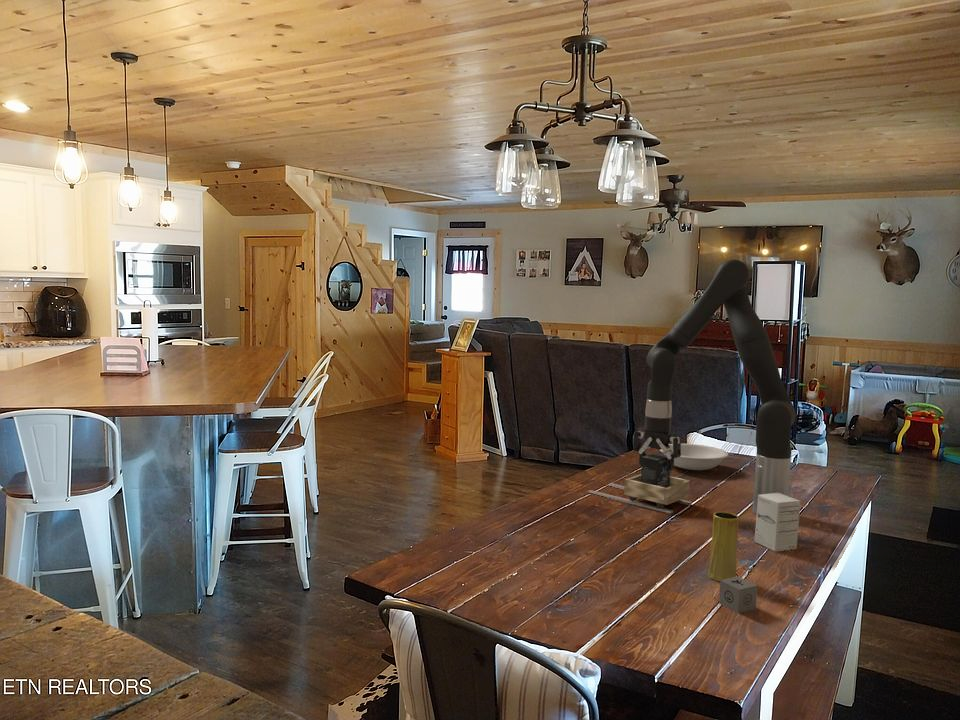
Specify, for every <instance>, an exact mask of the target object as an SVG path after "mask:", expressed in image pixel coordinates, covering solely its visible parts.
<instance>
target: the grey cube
mask: <svg viewBox="0 0 960 720" xmlns="http://www.w3.org/2000/svg"><path fill="white" fill-rule="evenodd" d="M757 594H758V585H757V584H755V583H754V582H751V581H750V580H747V579H744V578H743V577H740V576H737V575H736V577H733V578H728V579H724V580H720V582H719V595H718V604H719V605H721V606H723V607H725V608H727V609H729V610H730V611H732V612H734V613H736V614H741V613H742V614H743V613H746V612H748V611H753V610H756V609H757V597H758V596H757Z"/></svg>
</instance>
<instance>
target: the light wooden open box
mask: <svg viewBox="0 0 960 720" xmlns="http://www.w3.org/2000/svg"><path fill="white" fill-rule="evenodd" d="M690 485H691V481H690V480H689V479H685V478H679V477H675V476H671V475H670V487H667V488H665V487H660V486H656V485H651V484H647V483H642V482H641V473H639V474H638V475H634V476H631V477H629V478H625V479H624V485H623V486H624V490H623V495H625V496H627V497H628V498H629V500H631V501H636V500H637V499H641V500H644V501H645V500H646V501H650V502H653V503H656V506H658V507H659V508H665V506H666V505H667V506H668V505H670V504H672V503H676V502H675V501H677V500H680V499H681V500H683V499H684V498H686V497H688V496H690V488H691V487H690Z"/></svg>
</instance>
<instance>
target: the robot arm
mask: <svg viewBox="0 0 960 720" xmlns="http://www.w3.org/2000/svg"><path fill="white" fill-rule="evenodd" d="M749 278H750V271H749V268H748V266H747V264H746V263H744V262H743V261H742V260H739V259H729V260H726V261H724V262H723V263H721V264H720V265H719V266H718V267H717V268H716V269H715V271H714V274H713V278H712V279H711V282H710V284H709V285H708V286H707V288H705V290H704V291H703V293H702V294H701V296H699V297H698V299H697V300H696V301H695V302H694V303H693V304H692V305H691V306H690V307H689V308H688V309H687V310H686V312H684V313H683V314H682V316H681V317H680V318H679V319H678V320H677V322H675V324H674V325H673V326H672V328H670V330H669V331H668V332H667V333H666V334H665V335H664V336H663V337H662V338H660V340H658V342H656V343H655V344H654V345H653V346H652V348H651V349H650V350H649V351H648V353H647V356H646V364H647V366H648V367H649V368H650V369H651V372H650V373H651V374H650V376H651V377H650V380H649V382H647V387H646V388H647V390H646V391H647V394H646V403H645V404H646V405H645V411H644V413H645V417H644V420H645V421H644V432H643V431H642V430H638V431H635V432H634V438H633V451H634V452H638V454H639V457H638V458H639V460H638V463H639V465H640V467H642V458H643V456H647V451H648V450H649V449H656V450H659V451H660V450H661V449H662V451H663V452H664V453H665V454H666V456H667V458H668V459H667V471H669V472H670V471H671V472H672V470H674V468H675V465H674V459H675V458H677V457H680V456H681V444H682V441H681V437H680V436H677V437H675V436H672V435H671V430H672V414H673V413H672V412H673V411H672V410H673V407H672V394H673V393H672V391H673V390H672V389H673V388H672V387H673V381H674V376H675V373H676V367H677V365H676V363H677V362H676V356H677V355H678V354H679V353H680V352H681V351H683V350H685V349H687V348H688V347H689V346H690V345H691V343H693V341H695V339H696V338H697V337H698V335H699V334H700V333H701V332H702V331H703V329H704V328H705V327H706V325H707V324H708V323H709V321H710V320H711V319H712V318H713V316H714V315H715V313H716V312H717V311H718V310H719V309H720V308H721V307H722V305H723V307H724V309H725V312H726V315H727V318H728V323H729V325H730V330H731V334H732V337H733V341H734V345H735V347H736V350H737V353H738V357H739V359H740V361H741V364H742V365H743V366H744V369H745V370H746V372H747V373H748V375H749V376H750V378H751V379H752V382H754V384H755V387H756V389H757V392H758V396H759V399H760V404H761V406H760V407H759V408H758V411H757V415H756V424H755V425H756V426H755V446H756V457H755V470H754V484H753V485H754V486H753V496H752V497H753V498H752V513H754V514H755V515H757V503H758V495H761V494H770V493H781V494H783V495H786V496H789V497H791V496H792V495H791V494H792V482H790V477H791V475H790V474H791V463H792V462H791V459H792V447H791V434H792V433H791V432H792V426H793V425H794V423H795V421H796V418H797V415H796V414H797V413H796V409H795V407H794V404H793V402H792V401H791V398H790V396H789V394H788V392H787V390H786V388H785V385H784V383H783V380H782V378H781V375H780V370H779V366H778V362H777V359H776V355H775V353H774V349H773V346H772V343H771V341H770V338H769V334H768V332H767V330H766V328H765V326H764V324H763V322H762V321H761V319H760V317H759V315H757V312H756V311H755V309H754V308H753V306H752V303H751V300H750V296H749V293H748V290H747V284H748V282H749ZM643 439H644V440H645V442H644V443H643V445H642V440H643ZM670 442H671V444H673V451H672V448H671V446H670V445H669V444H670ZM663 452H662V453H663ZM664 453H663V454H664ZM671 472H670V473H671ZM791 498H792V497H791Z"/></svg>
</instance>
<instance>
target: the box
mask: <svg viewBox="0 0 960 720" xmlns="http://www.w3.org/2000/svg"><path fill="white" fill-rule="evenodd" d="M667 459H668V458H667V456H666V455H664V453H662V454H661V453H657V452H655V453H651V454H646V456H643V458H642V466H641V473H640V474H641V482H642V483H647V484H651V485H656V486H660V487H665V488H667V487H670V476H671V472H672V471H670V472H669V471H667Z"/></svg>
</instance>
